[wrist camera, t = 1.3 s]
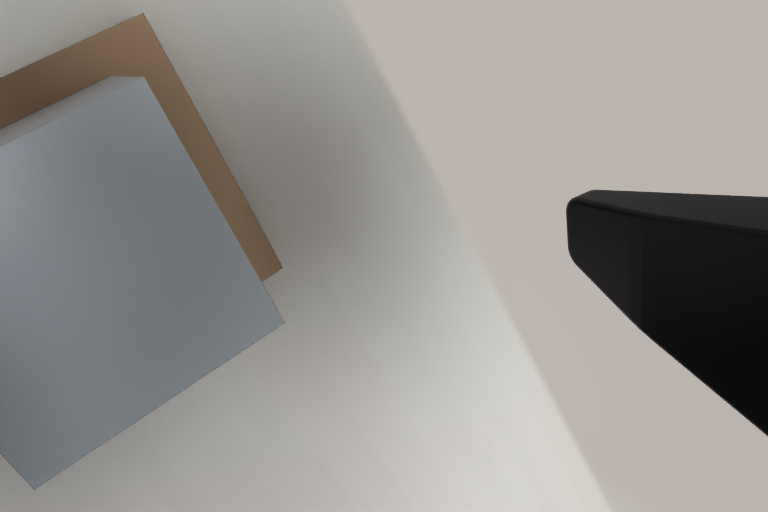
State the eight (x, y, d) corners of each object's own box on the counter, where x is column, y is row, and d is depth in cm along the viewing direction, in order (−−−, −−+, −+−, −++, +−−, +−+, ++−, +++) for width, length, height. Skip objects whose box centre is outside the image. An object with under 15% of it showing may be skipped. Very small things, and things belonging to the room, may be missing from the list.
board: (-1, 430, 18) (-5, 515, 15) (-229, 182, 15) (-304, 216, 11) (271, 259, 21) (323, 297, 17) (137, 15, 17) (167, 1, 14)
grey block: (29, 387, 17) (33, 489, 13) (-135, 194, 15) (-196, 242, 10) (225, 267, 19) (284, 322, 15) (111, 75, 16) (143, 76, 12)
